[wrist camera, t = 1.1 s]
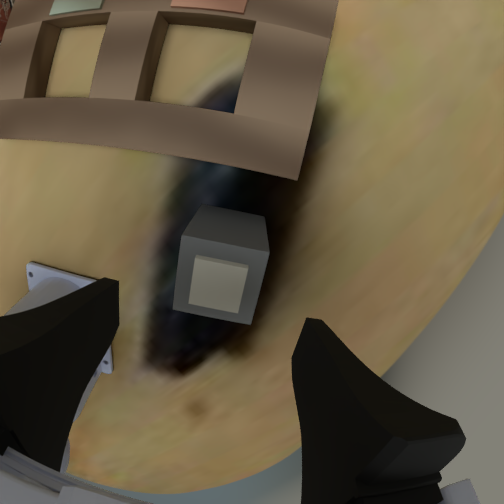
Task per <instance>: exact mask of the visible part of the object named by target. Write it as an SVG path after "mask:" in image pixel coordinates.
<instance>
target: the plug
mask: <svg viewBox="0 0 504 504" xmlns="http://www.w3.org/2000/svg"><path fill="white" fill-rule="evenodd" d="M269 253H270V251H269V244H268V237H267V230H266V223H265V217H264V216H259V215H254V214H249V213H245V212H240V211H235V210H230V209H225V208H220V207H215V206H210V205H205V204H202V205H201V206H200V208H199V209H198V211H197V212H196V214H195V215H194V217H193V218H192V220H191V221H190V223H189V224H188V226H187V227H186V229H185V230H184V232H183V234H182V236H181V243H180V251H179V258H178V266H177V274H176V283H175V292H174V301H173V310H178V311H183V312H187V313H192V314H197V315H202V316H207V317H212V318H217V319H222V320H227V321H233V322H238V323H244V324H249V325H251V322H252V318H253V315H254V311H255V307H256V303H257V300H258V296H259V292H260V288H261V284H262V280H263V277H264V273H265V269H266V265H267V261H268V257H269Z"/></svg>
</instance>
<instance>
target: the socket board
mask: <svg viewBox="0 0 504 504" xmlns="http://www.w3.org/2000/svg"><path fill="white" fill-rule="evenodd" d="M338 1H339V0H15V2H14V4H13V7H12V10H11V13H10V16H9V19H8V22H7V25H6V28H5V31H4V34H3V38H2V41H1V45H0V139H23V140H41V141H56V142H68V143H79V144H89V145H99V146H108V147H116V148H124V149H132V150H139V151H146V152H153V153H160V154H167V155H173V156H179V157H185V158H191V159H197V160H202V161H208V162H213V163H219V164H224V165H229V166H234V167H239V168H244V169H249V170H253V171H258V172H263V173H267V174H272V175H276V176H280V177H285V178H289V179H293V180H298V176H299V172H300V168H301V164H302V160H303V156H304V152H305V148H306V144H307V139H308V135H309V131H310V127H311V123H312V119H313V114H314V110H315V106H316V101H317V97H318V93H319V88H320V84H321V80H322V75H323V71H324V66H325V62H326V57H327V53H328V48H329V44H330V39H331V34H332V30H333V25H334V20H335V15H336V11H337V6H338ZM101 24H107V26H106V29H105V33H104V36H103V40H102V43H101V47H100V51H99V55H98V58H97V62H96V67H95V71H94V75H93V80H92V85H91V89H90V94H89V98H81V97H47V98H45V93H46V87H47V82H48V77H49V73H50V68H51V64H52V60H53V56H54V52H55V48H56V44H57V41H58V37H59V34H60V31H61V28H69V27H78V26H88V25H101ZM169 24H178V25H192V26H202V27H211V28H220V29H227V30H234V31H240V32H246V33H252V34H253V37H252V40H251V44H250V48H249V52H248V56H247V60H246V64H245V68H244V73H243V77H242V81H241V85H240V89H239V94H238V98H237V102H236V107H235V111H234V114H232V113H227V112H221V111H215V110H209V109H203V108H197V107H190V106H182V105H175V104H167V103H158V102H149V101H150V96H151V91H152V87H153V82H154V78H155V74H156V69H157V65H158V61H159V57H160V54H161V50H162V46H163V42H164V39H165V35H166V32H167V28H168V25H169Z"/></svg>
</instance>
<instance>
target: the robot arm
mask: <svg viewBox="0 0 504 504" xmlns="http://www.w3.org/2000/svg"><path fill="white" fill-rule="evenodd" d="M26 270H27V278H28V286H29V292H28V293H27V294H26V295H25V296H24V297H23V298H22V299H21V300H19V301H18V302H17V303H16V304H15V305H14V306H13V307H12V308H11V309H10V310H9V311H8V312H7V313H6V314H5V315H4V316H1V317H0V504H153V503H148V502H144V501H141V500H136V499H133V498H129V497H126V496H122V495H119V494H116V493H112V492H109V491H107V490H104V489H100V488H98V487H95V486H92V485H90V484H87V483H84V482H81V481H79V480H76V479H74V478H71V477H69V476H66V475H64V474H65V472H66V470H67V467H68V463H69V457H70V443H69V439H68V436H69V432H70V429H71V426H72V423H73V422H74V421H75V420H76V419H77V418H78V417H79V415H80V413H81V411H82V409H83V407H84V405H85V403H86V401H87V399H88V397H89V395H90V393H91V391H92V389H93V387H94V385H95V383H96V381H97V379H98V377H99V375H100V373H101V372H103V373H107V374H111V373H112V371H113V364H112V353H111V343H112V341H113V338H114V336H115V334H116V331H117V329H118V326H119V281H117V280H113V279H109V278H102V279H100V280H94V279H90V278H87V277H83V276H79V275H75V274H72V273H68V272H65V271H61V270H57V269H54V268H51V267H47V266H44V265H40V264H37V263H34V262H29V263H28V264H27V265H26ZM31 272H32V273H31ZM32 274H33V275H32ZM292 381H293V388H294V394H295V399H296V405H297V411H298V416H299V422H300V429H301V441H302V496H301V504H480V502H479V500H478V497H477V495H476V492H475V490H474V488H473V485H472V483H471V481H470V479H465V480H462V481H459V482H456V483H453V484H450V485H447V486H445V487H443V488H441V489H439V486H438V482H440V481H441V479H442V477H441V474H440V472H439V471H440V470H442V469H443V468H444V467H445V466H446V465H447V464H448V463H449V462H450V461H451V460H452V459H453V458H454V457H455V456H456V455H457V454H458V453H459V452H460V451H461V449H462V448H463V446H464V444H465V441H466V437H465V435H464V433H463V431H462V429H461V427H460V425H459V423H458V422H457V420H456V419H454V418H451V417H448V416H446V415H443V414H441V413H438V412H436V411H433V410H431V409H429V408H427V407H425V406H423V405H421V404H419V403H417V402H415V401H413V400H412V399H410V398H408V397H407V396H405V395H404V394H402V393H400V392H399V391H397V390H396V389H394V388H393V387H391V386H390V385H389V384H387V383H386V382H385V381H383V380H382V379H381V378H380V377H378V376H377V375H376V374H375V373H373V372H372V371H371V370H370V369H369V368H368V367H367V366H366V365H365V364H364V363H362V362H361V361H360V360H359V359H358V358H357V357H356V356H355V355H354V354H353V353H352V352H351V351H350V350H349V349H348V347H347V346H346V345H345V344H344V343H343V342H342V341H341V340H340V339H339V338H338V337H337V336H336V334H335V333H334V332H333V331H332V330H331V329H330V328H329V327H328V326H327V325H326V324H325V323H324V322H323V321H322V320H320V319H313V318H306V320H305V323H304V326H303V329H302V331H301V334H300V337H299V339H298V342H297V345H296V347H295V350H294V353H293V355H292Z"/></svg>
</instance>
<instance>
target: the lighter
mask: <svg viewBox="0 0 504 504" xmlns="http://www.w3.org/2000/svg"><path fill="white" fill-rule="evenodd" d="M14 2H15V0H0V45H1V41H2V38H3V34H4V31H5V28H6V25H7V22H8V19H9V16H10V13H11V10H12V7H13V4H14Z"/></svg>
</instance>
